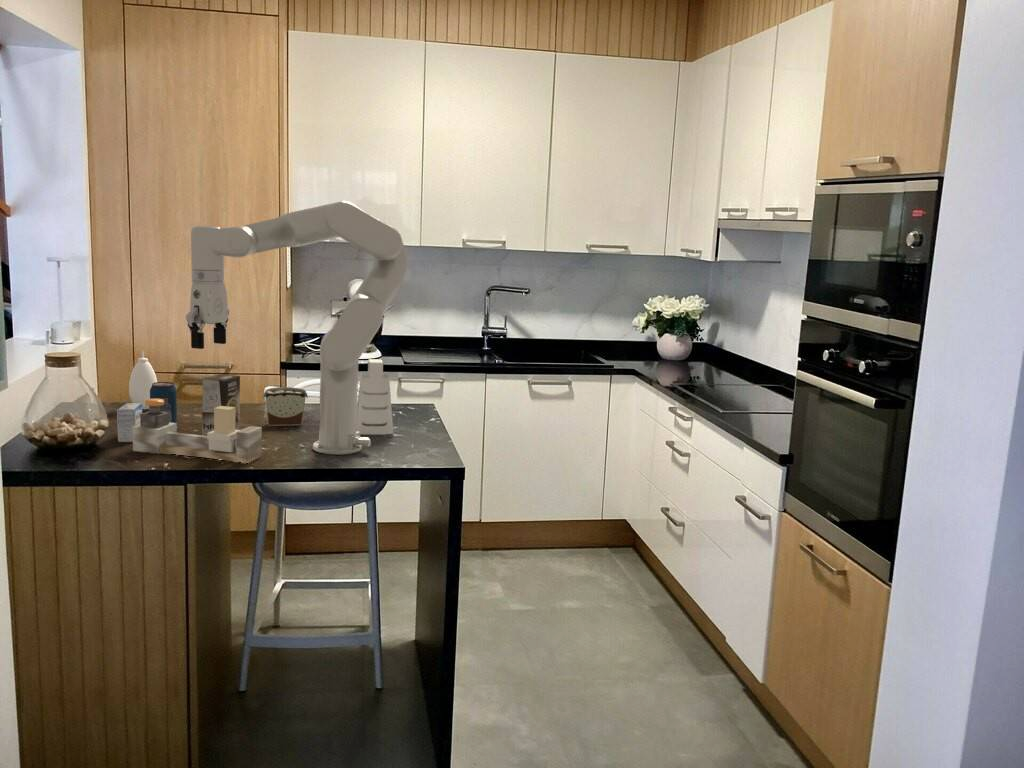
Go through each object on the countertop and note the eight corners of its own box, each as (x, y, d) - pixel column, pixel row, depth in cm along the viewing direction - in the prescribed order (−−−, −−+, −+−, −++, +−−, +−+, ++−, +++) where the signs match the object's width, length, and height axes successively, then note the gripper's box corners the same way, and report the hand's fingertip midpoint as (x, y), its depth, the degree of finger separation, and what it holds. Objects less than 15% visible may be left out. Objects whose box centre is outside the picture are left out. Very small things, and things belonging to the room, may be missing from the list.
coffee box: (223, 441, 239) (223, 380, 236) (201, 438, 240) (201, 378, 237) (240, 433, 248) (241, 375, 245) (219, 431, 249) (219, 373, 246)
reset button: (167, 414, 228) (167, 399, 228) (157, 417, 224) (157, 402, 223) (152, 412, 229) (151, 397, 228) (141, 416, 225) (141, 401, 224)
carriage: (242, 447, 226) (242, 406, 225) (229, 452, 221) (229, 411, 219) (219, 444, 228) (219, 404, 226) (207, 450, 222) (207, 408, 220)
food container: (305, 420, 267) (305, 386, 266) (307, 425, 262) (307, 390, 260) (261, 420, 264) (261, 386, 262) (262, 425, 258) (263, 391, 256)
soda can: (164, 422, 255) (163, 380, 253) (182, 426, 252) (182, 383, 250) (144, 427, 249) (143, 383, 247) (163, 430, 246) (163, 387, 244)
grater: (355, 434, 254) (357, 363, 251) (354, 425, 264) (356, 357, 261) (393, 434, 257) (395, 364, 253) (390, 425, 267) (392, 358, 263)
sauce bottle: (162, 410, 269) (162, 350, 266) (136, 413, 263) (135, 352, 260) (150, 405, 274) (149, 346, 271) (124, 408, 269) (123, 348, 265)
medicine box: (135, 442, 233) (135, 409, 231) (117, 442, 232) (116, 409, 230) (143, 435, 240) (142, 403, 239) (125, 435, 239) (124, 402, 238)
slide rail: (262, 456, 227) (262, 420, 225) (246, 464, 219) (247, 427, 217) (152, 443, 233) (151, 408, 231) (132, 450, 225) (132, 415, 223)
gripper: (201, 279, 215) (202, 351, 218) (240, 276, 231) (241, 342, 234) (173, 277, 217) (174, 349, 220) (213, 274, 233) (215, 340, 236)
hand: (209, 345), depth 227 cm, fingers open, 9 cm apart
